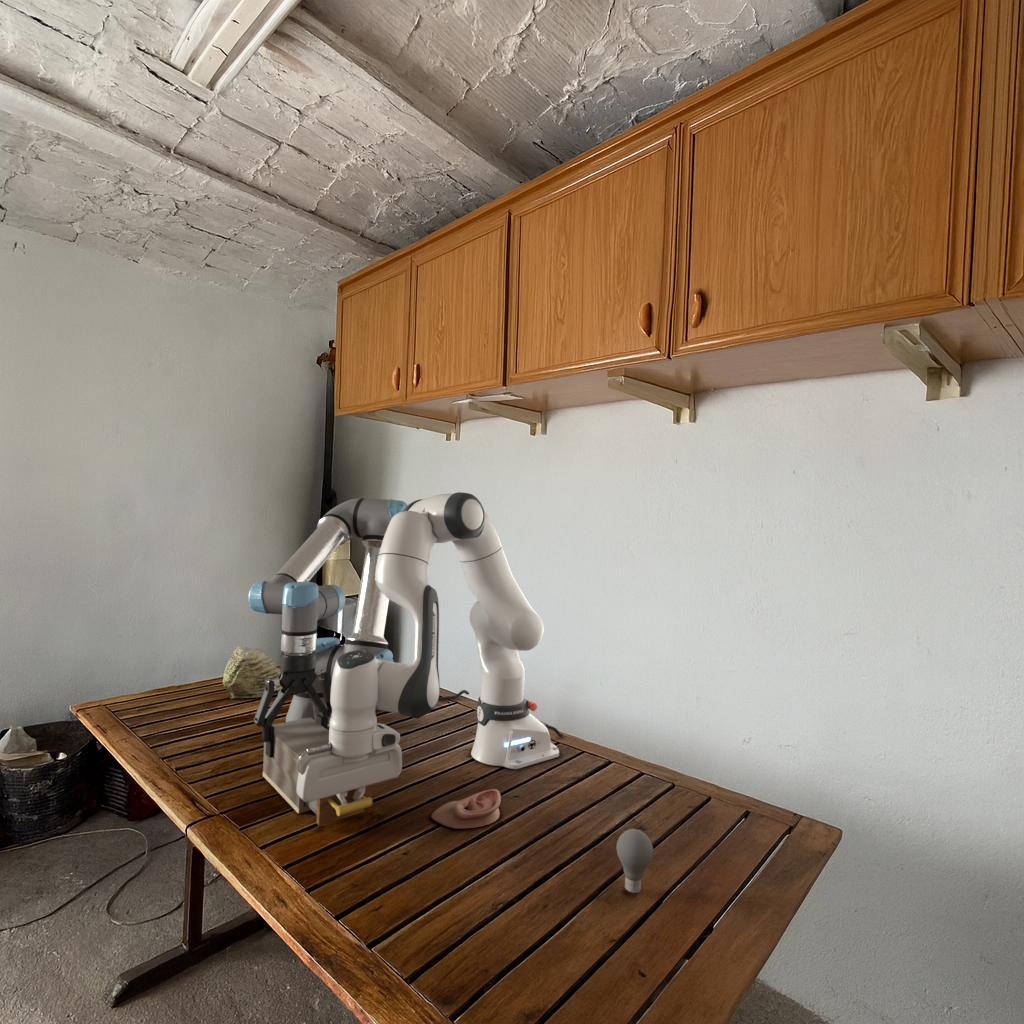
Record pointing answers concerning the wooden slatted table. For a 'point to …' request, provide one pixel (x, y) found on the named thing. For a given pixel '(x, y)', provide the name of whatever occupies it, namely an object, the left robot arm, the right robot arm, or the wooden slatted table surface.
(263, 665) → the fossil
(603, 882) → the wooden slatted table surface
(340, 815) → the drawer
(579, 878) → the wooden slatted table surface
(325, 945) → the wooden slatted table surface
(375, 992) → the wooden slatted table surface
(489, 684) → the right robot arm
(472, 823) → the anatomical model
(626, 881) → the light bulb
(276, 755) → the cabinet
